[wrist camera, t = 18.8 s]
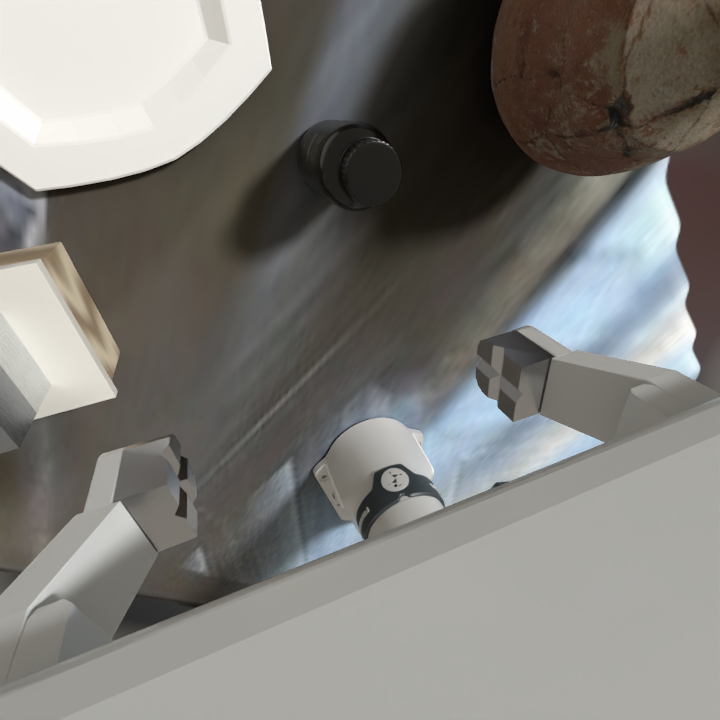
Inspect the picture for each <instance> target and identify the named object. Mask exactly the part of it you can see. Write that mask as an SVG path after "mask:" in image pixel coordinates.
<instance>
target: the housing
mask: <svg viewBox="0 0 720 720" xmlns="http://www.w3.org/2000/svg"><path fill="white" fill-rule="evenodd" d="M50 386H51V383H50V382H49V380H48V379H47V378H46V376H45V375H44V373H43V372H42V370H41V369H40V368H39V366H38V365H37V363H36V362H35V360H34V359H33V357H32V356H31V355H30V353H29V352H28V350H27V349H26V347H25V346H24V345H23V343H22V342H21V340H20V339H19V337H18V336H17V334H16V333H15V332H14V330H13V329H12V327H11V326H10V324H9V323H8V322H7V320H6V319H5V317H4V316H3V314H2V313H0V454H1V453H4V452H8V451H11V450H15V449H18V448H20V446H21V444H22V442H23V440H24V438H25V436H26V434H27V432H28V430H29V428H30V426H31V424H32V422H33V420H34V418H35V416H36V414H37V412H38V410H39V408H40V406H41V404H42V402H43V400H44V398H45V396H46V394H47V392H48V390H49V388H50Z"/></svg>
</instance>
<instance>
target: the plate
mask: <svg viewBox="0 0 720 720" xmlns="http://www.w3.org/2000/svg"><path fill="white" fill-rule="evenodd" d="M271 70H272V67H271V60H270V54H269V48H268V41H267V35H266V29H265V23H264V17H263V12H262V6H261V1H260V0H0V167H1V168H3V169H4V170H6V171H7V172H9V173H10V174H12V175H13V176H14V177H16V178H17V179H19V180H20V181H22V182H23V183H25V184H26V185H27V186H29V187H30V188H32V189H33V190H35V191H44V190H52V189H60V188H68V187H75V186H81V185H86V184H92V183H98V182H103V181H109V180H114V179H118V178H122V177H126V176H129V175H133V174H137V173H141V172H145V171H148V170H150V169H153V168H156V167H158V166H161V165H163V164H166V163H169V162H171V161H174V160H176V159H177V158H179V157H180V156H182V155H183V154H185V153H186V152H188V151H189V150H191V149H192V148H194V147H195V146H197V145H198V144H199V143H201V142H202V141H203V140H204V139H205V138H207V137H208V136H209V135H210V134H211V133H212V132H213V131H215V130H216V129H217V128H218V127H219V126H220V125H221V124H223V123H224V122H225V121H226V120H227V119H228V118H229V117H230V116H231V115H232V114H233V112H234V111H235V110H236V109H237V108H238V107H239V106H240V105H241V104H242V103H243V102H244V101H245V100H246V99H247V98H248V97H249V96H250V95H251V94H252V92H253V91H254V90H255V89H256V88H257V87H258V85H259V84H260V83H261V82H262V81H263V79H264V78H265V77H266V76H267V75H268V74H269V72H270V71H271Z"/></svg>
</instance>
